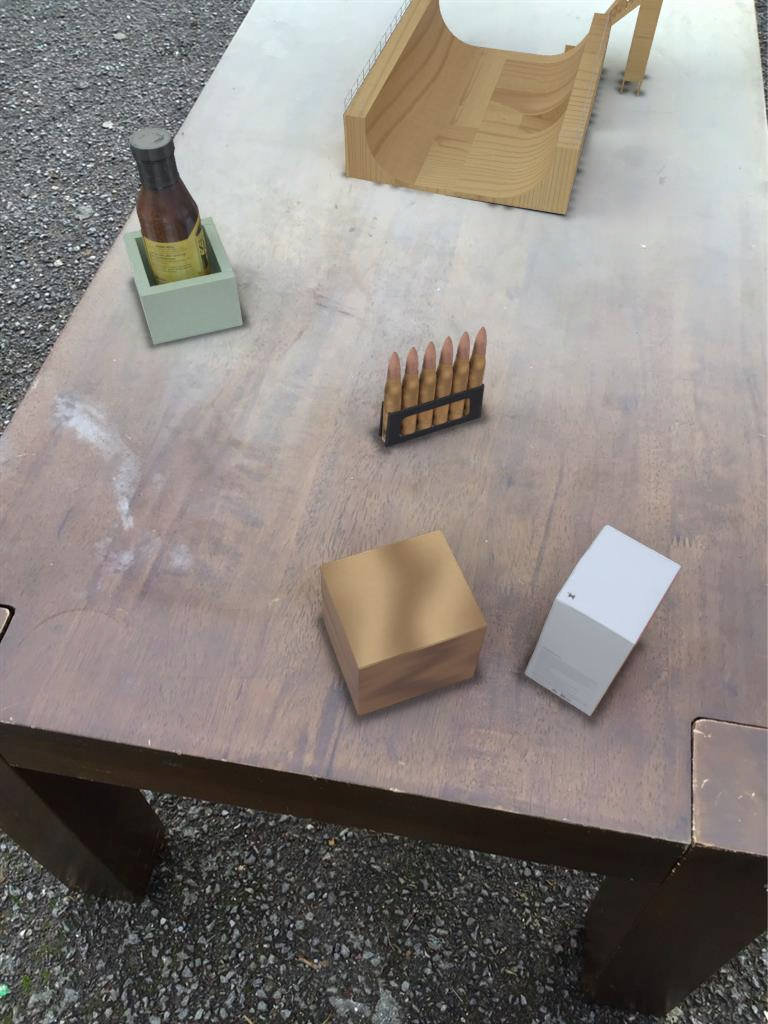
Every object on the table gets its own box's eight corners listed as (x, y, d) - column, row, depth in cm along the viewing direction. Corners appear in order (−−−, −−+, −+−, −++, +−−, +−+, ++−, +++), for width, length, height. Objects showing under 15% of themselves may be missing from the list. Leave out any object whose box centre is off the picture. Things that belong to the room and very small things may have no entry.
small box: (590, 719, 65) (635, 646, 55) (521, 675, 67) (552, 597, 57) (634, 645, 69) (684, 564, 59) (567, 606, 71) (604, 521, 61)
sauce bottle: (225, 314, 92) (198, 147, 76) (173, 332, 90) (133, 165, 74) (202, 281, 95) (171, 114, 79) (151, 298, 93) (108, 131, 77)
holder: (154, 347, 88) (140, 296, 83) (136, 285, 94) (121, 233, 89) (243, 327, 91) (235, 276, 85) (219, 268, 97) (211, 216, 91)
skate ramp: (419, 49, 131) (423, -67, 118) (642, 78, 126) (672, -40, 113) (346, 185, 109) (341, 60, 96) (613, 229, 103) (647, 102, 90)
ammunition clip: (472, 407, 85) (487, 317, 75) (480, 419, 84) (497, 330, 74) (378, 437, 82) (381, 348, 72) (385, 450, 81) (389, 361, 71)
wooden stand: (358, 718, 65) (358, 667, 57) (323, 623, 70) (319, 564, 62) (473, 678, 67) (488, 625, 59) (431, 589, 72) (440, 529, 64)
